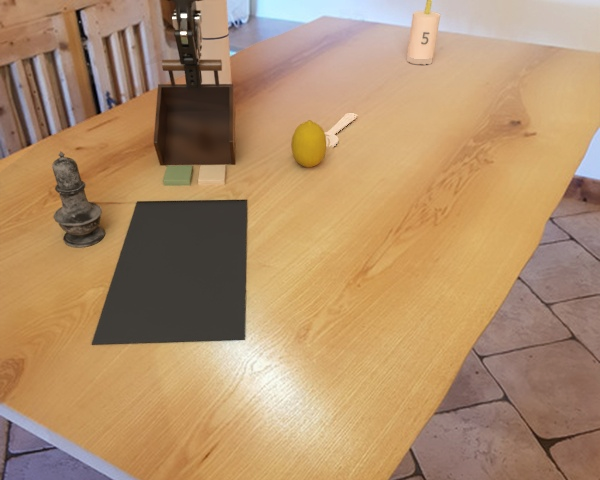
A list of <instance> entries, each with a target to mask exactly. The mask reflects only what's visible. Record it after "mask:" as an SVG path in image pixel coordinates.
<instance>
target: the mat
mask: <svg viewBox="0 0 600 480" xmlns="http://www.w3.org/2000/svg"><path fill="white" fill-rule="evenodd" d="M247 228H248V199H197V200H196V199H195V200H194V199H193V200H192V199H189V200H137V201H136V204H135V207H134V210H133V213H132V216H131V219H130V221H129V225H128V229H127V231H126V234H125V238H124V241H123V244H122V247H121V250H120V253H119V255H118V256H119V257H118V259H117V263H116V266H115V269H114V272H113V275H112V278H111V282H110V285H109V288H108V291H107V294H106V297H105V301H104V304H103V306H102V310H101V313H100V315H99V316H100V317H99V319H98V321H97V325H96V328H95V331H94V334H93V338H92V340H91V345H92V346H97V345H98V346H99V345H100V346H102V345H129V344H132V345H133V344H157V343H158V344H161V343H162V344H163V343H165V344H166V343H194V342H195V343H196V342H220V341H221V342H224V341H225V342H226V341H245V339H246V304H247V303H246V301H247V299H246V296H247V295H246V294H247V293H246V292H247V239H248V236H247V235H248V229H247Z"/></svg>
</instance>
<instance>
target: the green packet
mask: <svg viewBox="0 0 600 480" xmlns="http://www.w3.org/2000/svg"><path fill="white" fill-rule="evenodd" d="M193 173H194V165H166V168H165V171H164V176H163V179H162V185H163V187H176V186H177V187H180V186H181V187H183V186H191V184H192V178H193Z"/></svg>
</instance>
